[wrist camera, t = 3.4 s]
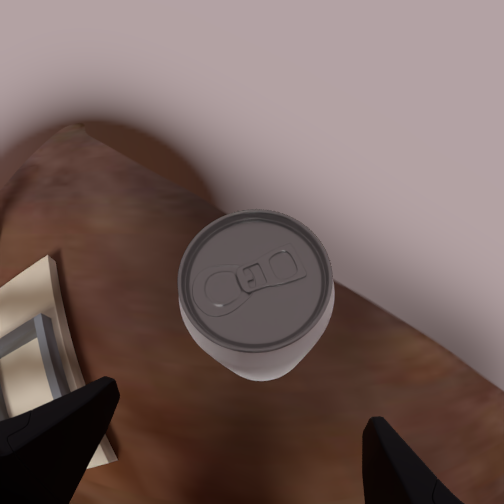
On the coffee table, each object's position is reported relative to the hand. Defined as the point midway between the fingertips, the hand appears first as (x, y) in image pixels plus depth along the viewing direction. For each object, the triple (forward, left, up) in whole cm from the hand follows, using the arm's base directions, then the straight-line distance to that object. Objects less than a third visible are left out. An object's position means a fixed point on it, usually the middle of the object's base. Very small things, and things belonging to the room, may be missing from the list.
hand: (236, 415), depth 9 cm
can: (+4, -3, -12) cm, 13 cm away
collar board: (+10, +20, -11) cm, 25 cm away
